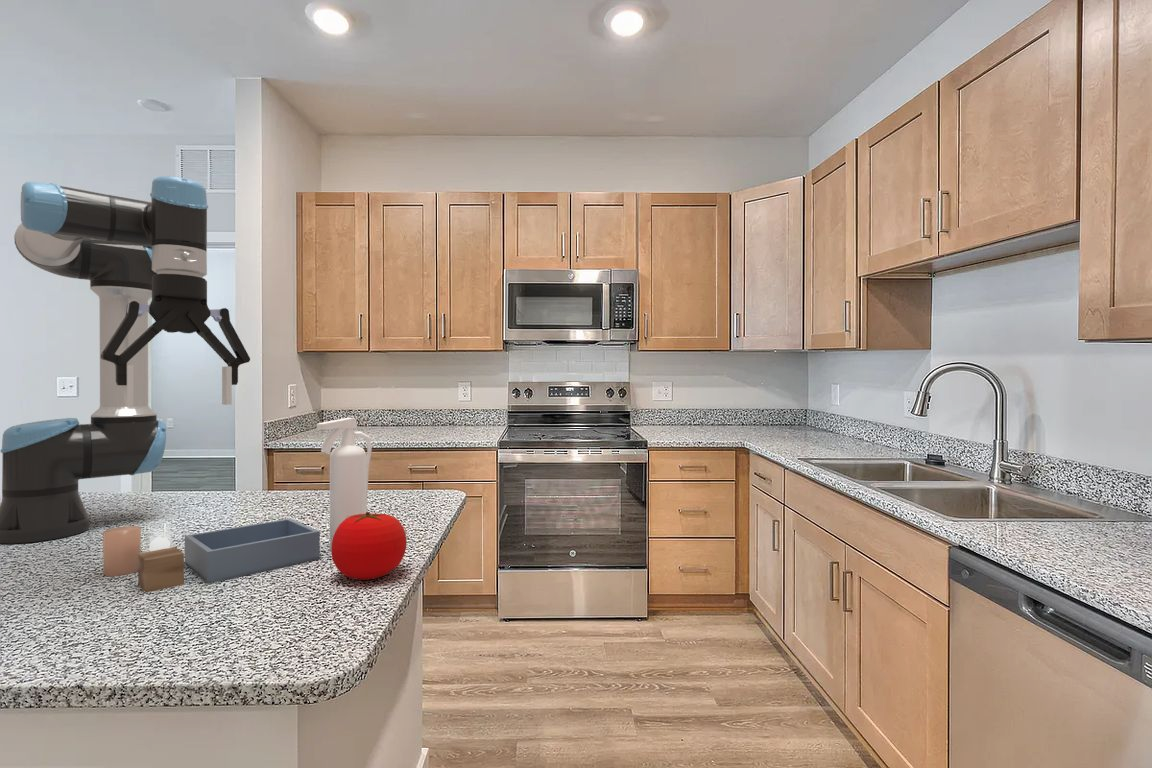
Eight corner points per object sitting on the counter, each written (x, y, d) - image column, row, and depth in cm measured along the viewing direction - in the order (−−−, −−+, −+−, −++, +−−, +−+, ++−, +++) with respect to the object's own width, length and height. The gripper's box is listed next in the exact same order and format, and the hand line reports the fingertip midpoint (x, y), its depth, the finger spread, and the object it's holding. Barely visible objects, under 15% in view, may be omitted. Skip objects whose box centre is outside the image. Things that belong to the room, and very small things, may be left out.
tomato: (322, 572, 99) (322, 510, 99) (391, 559, 106) (391, 501, 106) (343, 593, 90) (344, 524, 90) (417, 577, 97) (417, 514, 97)
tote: (184, 564, 103) (184, 535, 103) (289, 544, 116) (289, 518, 116) (207, 583, 94) (207, 551, 93) (319, 559, 106) (319, 531, 106)
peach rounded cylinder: (100, 571, 99) (100, 529, 99) (137, 564, 103) (137, 524, 103) (106, 578, 96) (106, 535, 96) (143, 571, 99) (143, 529, 99)
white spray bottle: (391, 542, 116) (386, 415, 116) (334, 559, 107) (327, 421, 106) (371, 537, 121) (366, 414, 120) (314, 553, 111) (308, 420, 110)
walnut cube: (138, 585, 93) (138, 553, 93) (175, 577, 97) (175, 546, 97) (145, 593, 90) (145, 560, 90) (183, 585, 93) (183, 553, 93)
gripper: (84, 261, 85) (84, 409, 86) (269, 282, 103) (269, 404, 103) (77, 268, 91) (78, 407, 91) (255, 286, 108) (255, 402, 109)
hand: (180, 405), depth 97 cm, fingers open, 13 cm apart
